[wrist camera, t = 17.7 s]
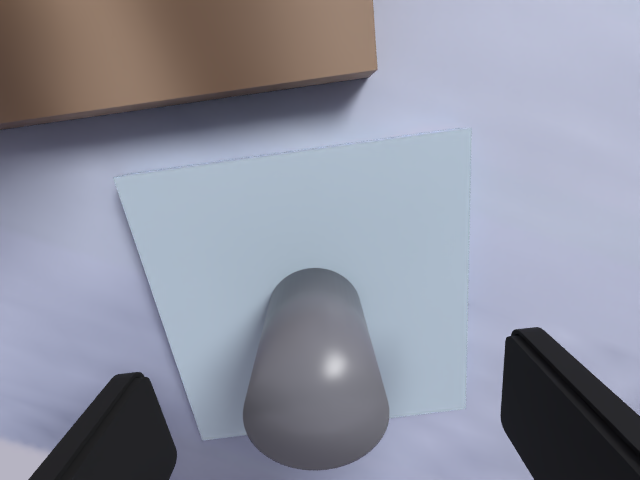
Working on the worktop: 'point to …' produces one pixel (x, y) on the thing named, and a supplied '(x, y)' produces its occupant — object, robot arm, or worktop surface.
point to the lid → (312, 289)
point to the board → (171, 52)
